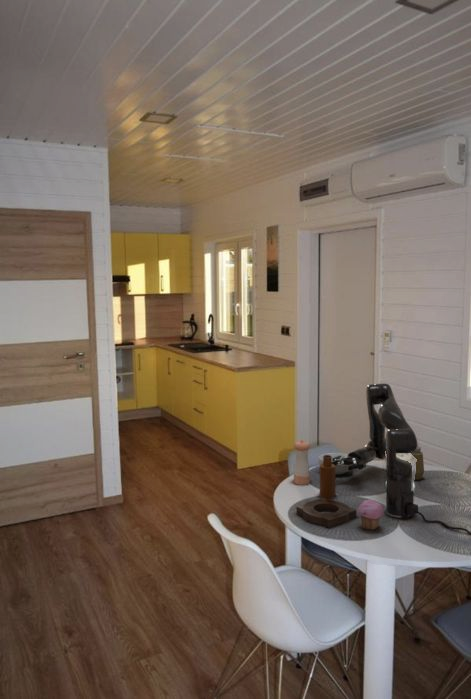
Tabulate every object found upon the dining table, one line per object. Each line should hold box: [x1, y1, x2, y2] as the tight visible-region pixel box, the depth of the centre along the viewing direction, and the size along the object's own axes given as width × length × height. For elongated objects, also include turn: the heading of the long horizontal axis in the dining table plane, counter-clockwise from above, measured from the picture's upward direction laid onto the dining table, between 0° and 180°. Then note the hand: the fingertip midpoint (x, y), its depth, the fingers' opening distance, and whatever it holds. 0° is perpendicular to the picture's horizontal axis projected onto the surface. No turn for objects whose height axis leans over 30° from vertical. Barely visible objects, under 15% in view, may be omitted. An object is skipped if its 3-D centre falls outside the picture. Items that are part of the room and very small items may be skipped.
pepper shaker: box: [293, 439, 311, 486], centre depth 257 cm, size 7×7×19 cm
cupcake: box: [357, 499, 384, 531], centre depth 208 cm, size 9×9×10 cm
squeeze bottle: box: [411, 442, 425, 481], centre depth 260 cm, size 8×8×18 cm
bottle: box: [319, 455, 336, 499], centre depth 240 cm, size 6×6×17 cm
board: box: [296, 497, 357, 529], centre depth 220 cm, size 18×18×3 cm
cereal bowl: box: [318, 452, 350, 476], centre depth 270 cm, size 17×17×7 cm
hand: (340, 466), depth 247 cm, fingers open, 8 cm apart
